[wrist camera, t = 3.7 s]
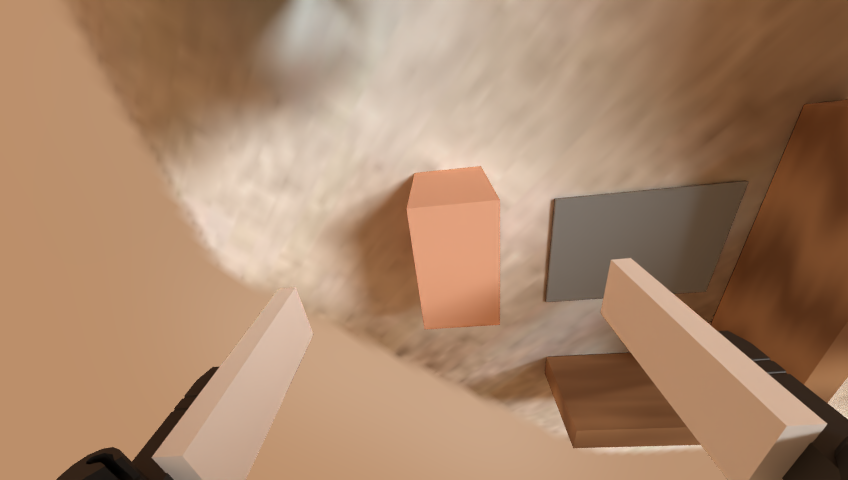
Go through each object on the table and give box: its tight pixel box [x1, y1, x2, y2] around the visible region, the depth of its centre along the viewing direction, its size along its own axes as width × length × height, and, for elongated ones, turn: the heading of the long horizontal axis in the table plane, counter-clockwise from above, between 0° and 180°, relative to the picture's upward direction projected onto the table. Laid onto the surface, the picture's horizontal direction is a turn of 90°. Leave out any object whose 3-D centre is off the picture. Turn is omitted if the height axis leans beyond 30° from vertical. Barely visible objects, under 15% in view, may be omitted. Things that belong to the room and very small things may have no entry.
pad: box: [546, 181, 748, 302], centre depth 20 cm, size 8×11×1 cm
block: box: [407, 166, 500, 329], centre depth 17 cm, size 7×4×6 cm, turn 7°
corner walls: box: [545, 100, 848, 448], centre depth 18 cm, size 20×14×6 cm
